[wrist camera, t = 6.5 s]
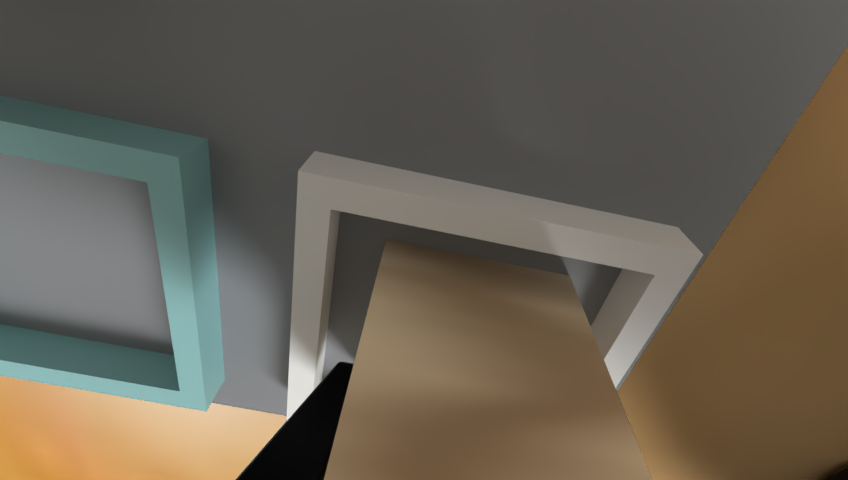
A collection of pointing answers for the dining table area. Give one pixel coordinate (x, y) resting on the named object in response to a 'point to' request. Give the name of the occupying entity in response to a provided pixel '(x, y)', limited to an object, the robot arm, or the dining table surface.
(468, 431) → the block
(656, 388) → the dining table surface
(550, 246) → the grey shape sorting board
